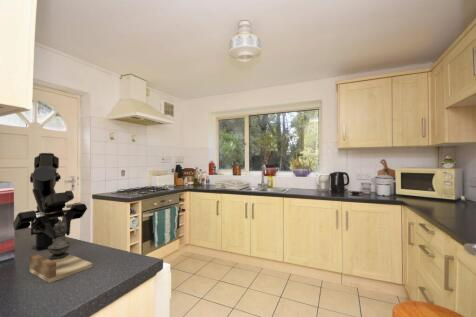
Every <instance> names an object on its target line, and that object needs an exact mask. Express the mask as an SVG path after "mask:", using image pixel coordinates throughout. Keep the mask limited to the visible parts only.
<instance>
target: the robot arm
mask: <svg viewBox="0 0 476 317" xmlns="http://www.w3.org/2000/svg"><path fill="white" fill-rule="evenodd" d="M33 160H34V162H33V168H34V169H33V172H32V173H31V172H30V173H31V174H30V176H29V182H30V183H31V184H32V187H33V188H32V194H33V197H34V200H35V202H36V210H28V211H21V212H20V211H19V213H17V215H16V216H15V218H14V220H13V224H12V225H13V229H14V230H15V231H21V230H25V229H28V228H29V227H30V235H31V236H33V235H35V241H34V242H35V243H34V244H35V245H32V246H31V248H32V249H34V250H36V251H42V250H47V249H48V246H50V245H52V244H53V242H54V239H55V237H56V236H55V233H54V225H55V224H56V223H58V222H59V220H60V219H61V222H64V223H65V232H67V233H66V234H65V236H70V234H71V221H73V220H76V219H81V218H83V216H84V214H85V213H86V212H87V210H88V207H87V205H86V204H85V203H78V204H72V205H71V207H70V208H69V209H65V208H66V206H67V205H66V204H67V203H69V202H71V201H72V200H74V198H75V196H74V193H73V190H65V192H56V190H55V187H56V184H57V183H58V182H59V181H60V180H61V179H62V178H61V175H60V174H59V172H57V169H59V166H60V158H59V157H58V156H56V155H55V153H52V152H41V153H38V155H37V156H35V157H34V159H33ZM59 218H60V219H59Z"/></svg>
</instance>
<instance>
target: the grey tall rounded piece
mask: <svg viewBox="0 0 476 317" xmlns="http://www.w3.org/2000/svg"><path fill="white" fill-rule="evenodd" d="M61 221H62V219H59V222H58V223H56V224H55V225H54V233H55V236H56V237H55V239H53V244H52V245H50V246H48V248H47V249H48V250H49V253H50V254H51V255H50V256H49V257H48V259H49V260H51V261H53V260H57V259H62V258H65V257H67V256H70V253H69V252H68V250H69V248H70V245H72V243H71V242H69V241H67V240H66V233H67V232H65V223H64V222H61Z"/></svg>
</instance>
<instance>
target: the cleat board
mask: <svg viewBox="0 0 476 317" xmlns="http://www.w3.org/2000/svg"><path fill="white" fill-rule="evenodd" d="M93 264H94V263H93V262H91V261H87V260H86V259H82V258H81V257H78V256H75V255H73V254H69V256H67V257H65V258H62V259H57V260H50V259H49V258H46V257H44V256H43V255H41V254H38V253H33V254H30V255H29V270H28V272H29V273H31V274H32V275H35V276H36V277H38V278H40V279H42V280H43V281H45V282H47V283H49V284H51V283H53V282H56V281H59V280H62V279H64V278H67V277H69V276H72V275H75V274H77V273H80V272H82V271H85V270H88V269H90V268H93Z"/></svg>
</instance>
